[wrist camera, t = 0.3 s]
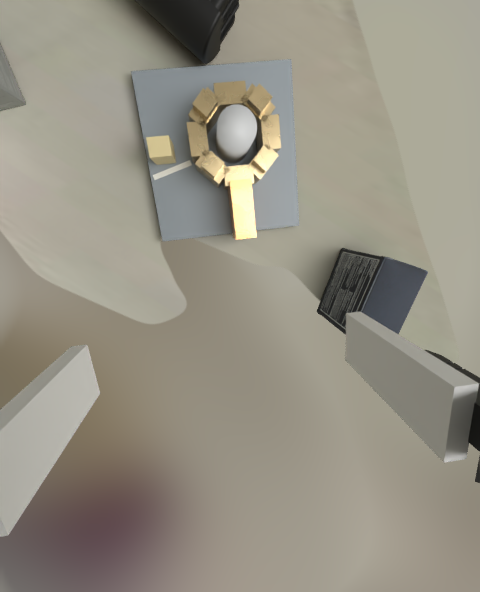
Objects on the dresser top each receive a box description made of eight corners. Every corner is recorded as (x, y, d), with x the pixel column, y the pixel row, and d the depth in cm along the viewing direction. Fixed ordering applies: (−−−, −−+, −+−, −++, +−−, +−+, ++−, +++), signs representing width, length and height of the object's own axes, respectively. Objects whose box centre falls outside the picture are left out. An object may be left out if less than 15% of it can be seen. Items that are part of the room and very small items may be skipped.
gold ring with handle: (184, 101, 32) (179, 78, 27) (269, 94, 33) (279, 71, 27) (204, 240, 36) (203, 243, 31) (278, 231, 37) (289, 233, 32)
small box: (351, 322, 44) (393, 353, 34) (315, 312, 43) (346, 340, 33) (379, 259, 41) (432, 272, 31) (341, 246, 40) (384, 255, 30)
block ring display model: (134, 77, 32) (108, 29, 24) (287, 66, 34) (312, 16, 25) (164, 240, 38) (151, 246, 29) (295, 225, 39) (318, 226, 31)
